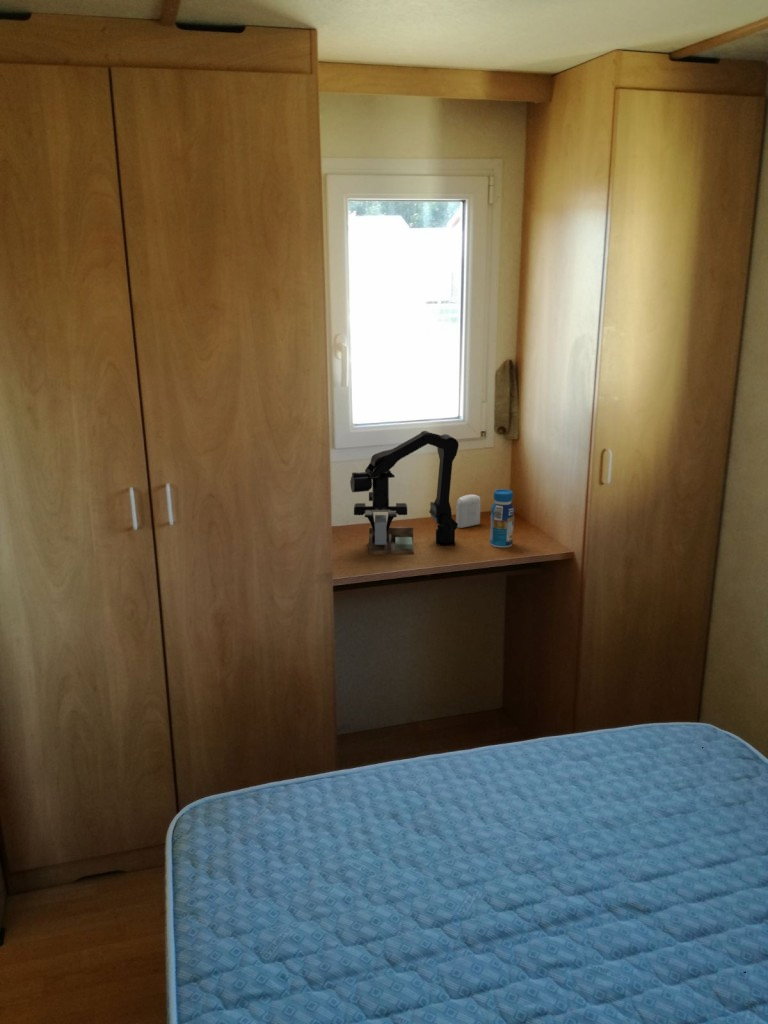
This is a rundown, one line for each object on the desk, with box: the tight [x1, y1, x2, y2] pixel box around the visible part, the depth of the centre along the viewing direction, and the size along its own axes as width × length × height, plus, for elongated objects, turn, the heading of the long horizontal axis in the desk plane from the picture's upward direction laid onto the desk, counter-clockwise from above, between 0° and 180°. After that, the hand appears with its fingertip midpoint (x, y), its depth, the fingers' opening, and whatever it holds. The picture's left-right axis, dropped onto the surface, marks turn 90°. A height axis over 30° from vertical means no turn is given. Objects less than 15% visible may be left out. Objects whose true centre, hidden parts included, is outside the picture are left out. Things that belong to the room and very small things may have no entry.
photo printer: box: [455, 494, 482, 529], centre depth 305 cm, size 10×4×12 cm, turn 123°
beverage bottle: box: [489, 488, 515, 549], centre depth 283 cm, size 8×8×20 cm
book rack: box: [368, 526, 415, 555], centre depth 281 cm, size 16×12×6 cm
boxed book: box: [374, 514, 387, 545], centre depth 279 cm, size 4×9×8 cm, turn 179°
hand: (380, 532), depth 279 cm, fingers closed on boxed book, 4 cm apart
